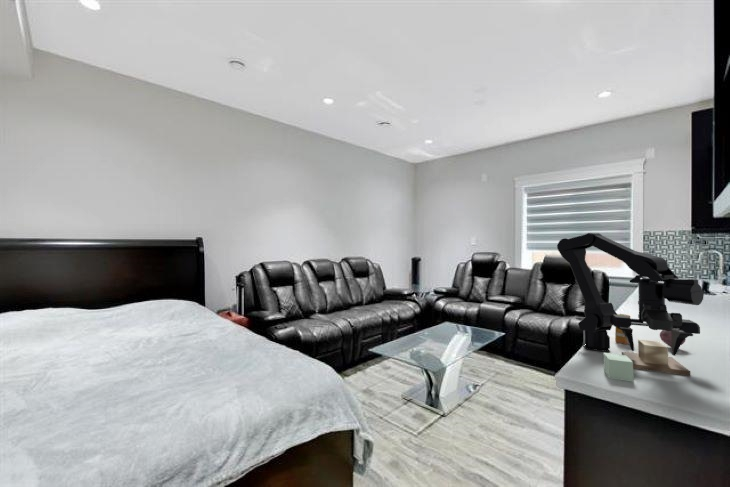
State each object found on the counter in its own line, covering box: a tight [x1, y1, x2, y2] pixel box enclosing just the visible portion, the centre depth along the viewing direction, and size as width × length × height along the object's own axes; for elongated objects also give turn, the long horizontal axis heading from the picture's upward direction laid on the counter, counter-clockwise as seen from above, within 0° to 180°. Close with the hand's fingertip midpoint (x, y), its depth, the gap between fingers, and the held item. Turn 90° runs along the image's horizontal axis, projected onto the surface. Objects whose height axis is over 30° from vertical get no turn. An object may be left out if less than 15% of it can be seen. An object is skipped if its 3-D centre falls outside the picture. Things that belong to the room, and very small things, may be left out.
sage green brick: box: [603, 352, 634, 382], centre depth 85 cm, size 5×6×5 cm
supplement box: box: [614, 313, 631, 345], centre depth 113 cm, size 3×3×10 cm
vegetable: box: [659, 328, 687, 348], centre depth 106 cm, size 6×6×10 cm
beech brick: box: [637, 339, 669, 365], centre depth 92 cm, size 5×6×5 cm
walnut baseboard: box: [621, 351, 691, 377], centre depth 92 cm, size 12×12×1 cm
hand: (652, 352), depth 92 cm, fingers open, 9 cm apart
